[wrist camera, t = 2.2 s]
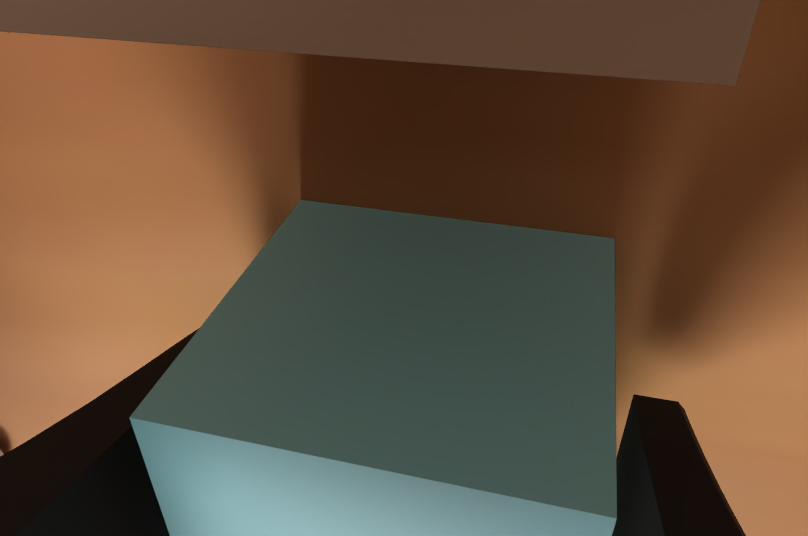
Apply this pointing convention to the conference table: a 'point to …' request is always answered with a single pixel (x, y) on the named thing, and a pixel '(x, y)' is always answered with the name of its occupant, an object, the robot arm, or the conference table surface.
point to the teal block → (395, 385)
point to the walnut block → (432, 31)
